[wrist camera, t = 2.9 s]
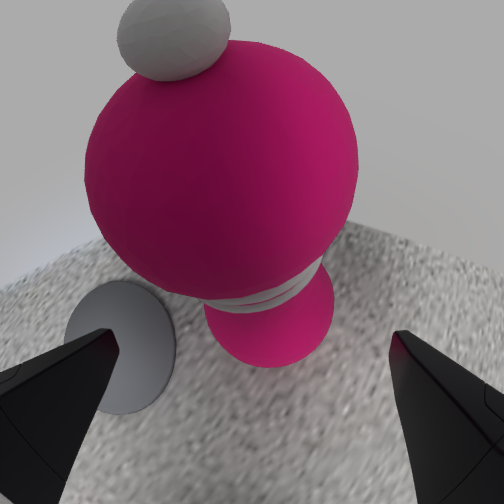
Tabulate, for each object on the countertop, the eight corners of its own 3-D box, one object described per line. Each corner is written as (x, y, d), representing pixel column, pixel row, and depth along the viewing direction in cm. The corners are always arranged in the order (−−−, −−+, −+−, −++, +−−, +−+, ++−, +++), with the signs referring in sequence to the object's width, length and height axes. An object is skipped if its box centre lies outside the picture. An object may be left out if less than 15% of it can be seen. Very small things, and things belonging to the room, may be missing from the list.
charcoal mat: (202, 375, 20) (199, 375, 19) (96, 433, 18) (92, 433, 18) (141, 260, 24) (138, 257, 24) (55, 323, 23) (51, 321, 22)
